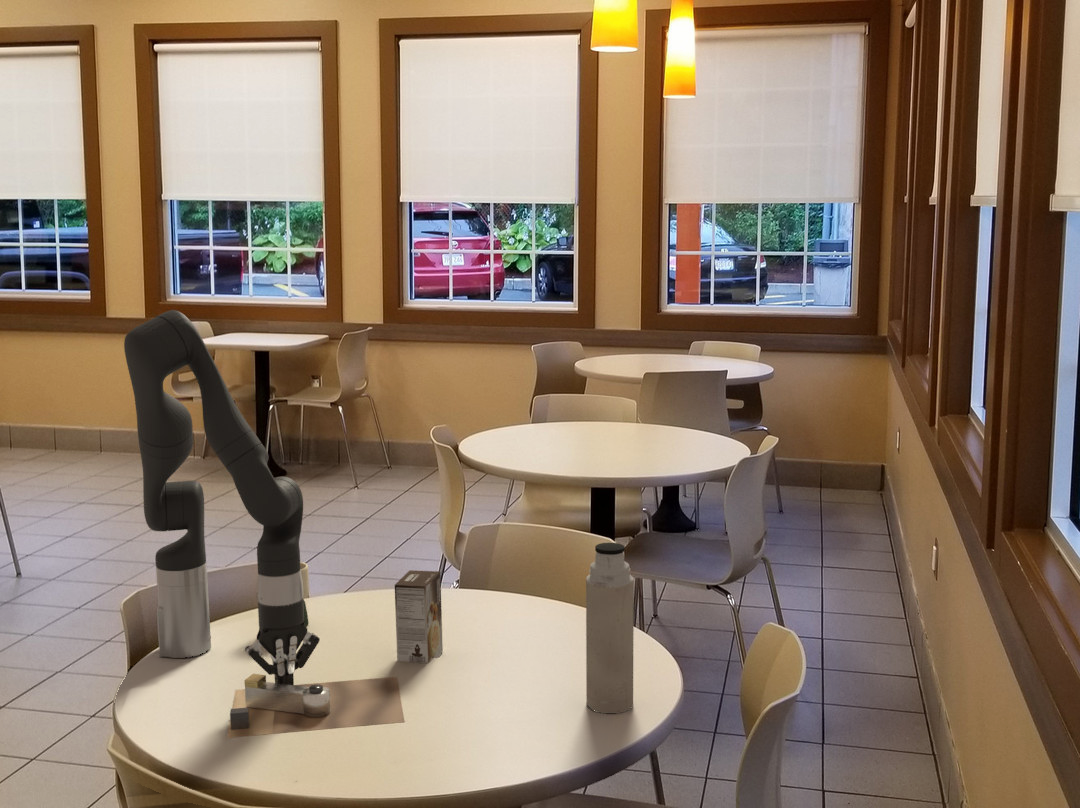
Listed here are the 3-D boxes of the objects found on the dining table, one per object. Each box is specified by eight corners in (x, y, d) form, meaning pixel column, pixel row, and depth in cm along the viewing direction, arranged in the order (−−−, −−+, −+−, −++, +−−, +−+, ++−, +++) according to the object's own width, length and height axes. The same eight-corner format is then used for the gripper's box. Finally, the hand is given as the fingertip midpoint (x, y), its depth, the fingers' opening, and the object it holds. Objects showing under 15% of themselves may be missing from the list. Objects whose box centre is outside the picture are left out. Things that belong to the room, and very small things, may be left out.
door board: (227, 744, 182) (227, 737, 182) (236, 696, 200) (235, 689, 200) (404, 728, 187) (404, 721, 187) (397, 683, 206) (397, 676, 205)
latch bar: (335, 707, 192) (334, 680, 191) (323, 718, 188) (321, 691, 187) (256, 698, 196) (255, 671, 196) (243, 708, 192) (241, 681, 191)
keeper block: (230, 729, 185) (230, 713, 184) (231, 725, 186) (230, 708, 186) (248, 728, 185) (248, 711, 185) (249, 723, 187) (248, 707, 186)
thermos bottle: (593, 692, 201) (593, 537, 196) (638, 697, 198) (639, 540, 194) (580, 710, 193) (579, 549, 189) (626, 716, 191) (626, 553, 186)
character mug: (291, 617, 240) (288, 557, 238) (321, 621, 238) (319, 560, 236) (263, 635, 230) (260, 572, 228) (294, 639, 227) (291, 576, 225)
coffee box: (411, 649, 222) (409, 569, 219) (443, 651, 220) (441, 570, 218) (396, 667, 213) (393, 584, 210) (429, 669, 212) (427, 585, 209)
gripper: (249, 610, 187) (254, 710, 190) (325, 595, 194) (329, 692, 196) (234, 597, 193) (239, 694, 196) (309, 583, 200) (313, 677, 203)
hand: (284, 693), depth 196 cm, fingers closed
